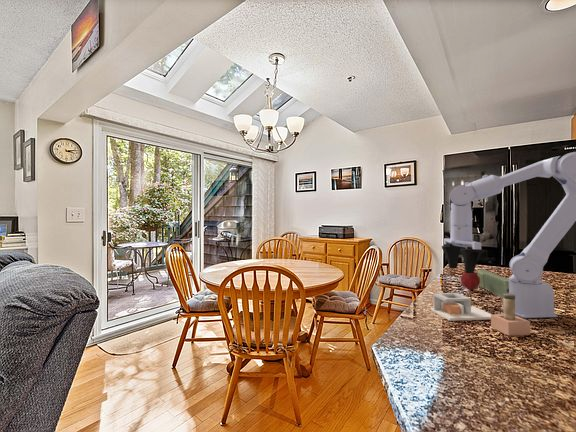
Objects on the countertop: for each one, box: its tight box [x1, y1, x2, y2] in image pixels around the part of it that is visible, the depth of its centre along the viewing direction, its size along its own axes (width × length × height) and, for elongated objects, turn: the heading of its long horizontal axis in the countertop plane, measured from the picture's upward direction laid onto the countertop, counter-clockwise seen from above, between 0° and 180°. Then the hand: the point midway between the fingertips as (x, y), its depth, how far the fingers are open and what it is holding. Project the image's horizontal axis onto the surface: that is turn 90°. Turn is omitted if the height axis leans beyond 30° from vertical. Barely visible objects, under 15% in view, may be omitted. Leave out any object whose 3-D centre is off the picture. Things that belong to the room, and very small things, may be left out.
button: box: [444, 303, 460, 314], centre depth 80 cm, size 3×3×2 cm
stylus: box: [502, 293, 516, 321], centre depth 69 cm, size 2×2×8 cm
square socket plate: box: [429, 292, 493, 322], centre depth 81 cm, size 13×9×5 cm
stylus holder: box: [490, 313, 531, 337], centre depth 69 cm, size 5×5×3 cm
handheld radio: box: [476, 269, 509, 299], centre depth 100 cm, size 7×3×25 cm
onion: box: [460, 271, 480, 291], centre depth 106 cm, size 6×6×8 cm
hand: (461, 270), depth 89 cm, fingers open, 7 cm apart
